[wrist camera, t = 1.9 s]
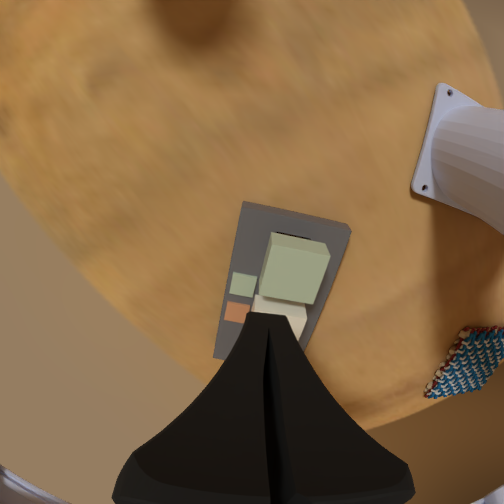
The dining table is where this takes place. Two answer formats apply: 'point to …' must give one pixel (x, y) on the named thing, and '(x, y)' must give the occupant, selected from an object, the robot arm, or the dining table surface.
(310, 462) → the robot arm
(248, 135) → the dining table surface
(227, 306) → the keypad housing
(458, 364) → the woven mat
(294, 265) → the key sage
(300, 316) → the cream cube block
